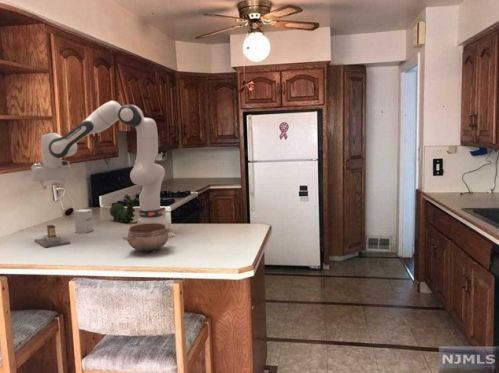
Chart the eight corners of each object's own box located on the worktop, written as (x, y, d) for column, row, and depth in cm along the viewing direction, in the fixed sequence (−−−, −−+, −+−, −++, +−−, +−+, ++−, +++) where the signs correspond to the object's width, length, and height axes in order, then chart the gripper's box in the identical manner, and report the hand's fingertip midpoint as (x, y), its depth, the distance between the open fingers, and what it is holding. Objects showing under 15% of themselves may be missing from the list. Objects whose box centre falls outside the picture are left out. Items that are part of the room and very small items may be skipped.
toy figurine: (138, 225, 272) (118, 217, 290) (138, 195, 269) (117, 189, 286) (125, 227, 265) (105, 219, 283) (124, 197, 262) (104, 190, 279)
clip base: (70, 243, 221) (69, 237, 221) (45, 248, 213) (45, 241, 213) (58, 237, 236) (57, 231, 236) (34, 241, 228) (34, 235, 228)
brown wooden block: (56, 241, 224) (54, 226, 223) (51, 241, 222) (49, 226, 221) (53, 239, 227) (51, 224, 226) (48, 240, 226) (46, 225, 225)
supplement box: (86, 233, 245) (85, 211, 244) (75, 232, 247) (73, 211, 245) (93, 230, 252) (92, 209, 251) (82, 230, 254) (81, 209, 252)
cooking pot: (135, 260, 188) (133, 233, 186) (114, 252, 201) (113, 227, 200) (182, 249, 205) (181, 224, 203) (160, 242, 218) (159, 219, 217)
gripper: (32, 164, 223) (34, 190, 224) (72, 161, 236) (74, 186, 238) (29, 164, 227) (31, 189, 229) (68, 161, 241) (70, 186, 242)
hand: (53, 188), depth 233 cm, fingers open, 8 cm apart
